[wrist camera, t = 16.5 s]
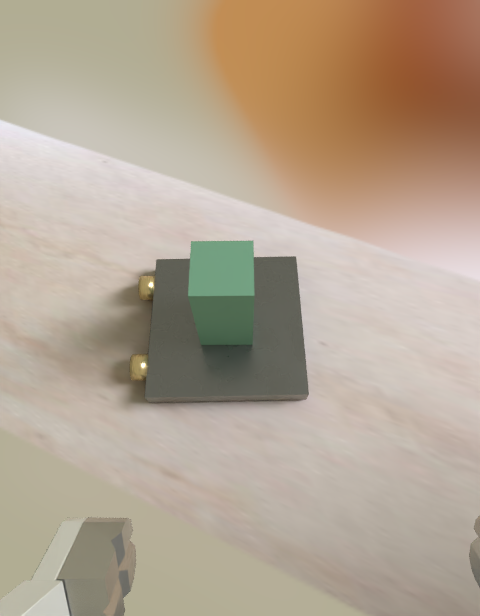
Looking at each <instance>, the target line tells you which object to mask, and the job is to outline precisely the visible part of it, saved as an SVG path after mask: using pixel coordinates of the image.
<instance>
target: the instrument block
mask: <svg viewBox="0 0 480 616" xmlns="http://www.w3.org/2000/svg"><path fill="white" fill-rule="evenodd" d="M188 298H189V302H190V306H191V310H192V313H193V317H194V321H195V325H196V328H197V332H198V336H199V340H200V343H201V345H253V320H254V252H253V241H191V253H190V270H189V287H188Z"/></svg>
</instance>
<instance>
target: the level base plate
mask: <svg viewBox="0 0 480 616" xmlns="http://www.w3.org/2000/svg"><path fill="white" fill-rule="evenodd" d="M189 270H190V259H158V260H157V261H156V272H155V276H140V278H139V284H138V289H139V296H140V299H141V300H153V307H152V318H151V330H150V341H149V353H148V354H133V355H132V356H131V360H130V376H131V379H132V380H133V381H138V380H146V387H145V399H146V400H147V401H148V402H149V403H155V402H205V401H255V400H305V399H307V397H308V395H309V392H308V381H307V370H306V359H305V349H304V338H303V327H302V316H301V305H300V295H299V284H298V273H297V262H296V257H254V320H253V345H201V343H200V340H199V336H198V332H197V328H196V325H195V321H194V317H193V313H192V310H191V306H190V302H189V298H188V287H189Z"/></svg>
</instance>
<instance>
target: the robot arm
mask: <svg viewBox="0 0 480 616" xmlns="http://www.w3.org/2000/svg"><path fill="white" fill-rule="evenodd" d="M474 530H475V532H476V533H477V535H478V536H479V537H478V538H477V539H476V540H475V541H473V542H472V543H471V547H470V554H469V557H470V563H471V569H472V572H473V574H474V577H475V580H476V581H477V583H478V585H479V587H480V516H479V517H478V518H477V519H476V521H475V525H474ZM132 531H133V529H132V523H131V520H130V519H128V518H89V517H88V518H70V517H68V518H66V519H65V520H64V521H63V522H62V523H61V525H60V527H59V529H58V531H57V532H56V534H55V536H54V538H53V540H52V542H51V543H50V545H49V547H48V549H47V551H46V553H45V555H44V557H43V558H42V560H41V562H40V564H39V566H38V568H37V569H36V571H35V573H34V575H33V577H32V579H31V580H30V581H23V582H22V583H20V584H19V585H18V586H17V587H15V588H14V589H13V590H12V591H10V592H9V593H8V594H7V595H5V596H4V597H3V598H1V599H0V616H124V612H125V608H124V601H123V598H124V597H125V596H126V595H127V594H128V593H129V592H130V591H131V587H132V583H133V580H134V574H135V566H136V550H135V545H134V544H133V543H132V542H131V541H130V538H131V535H132Z"/></svg>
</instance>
